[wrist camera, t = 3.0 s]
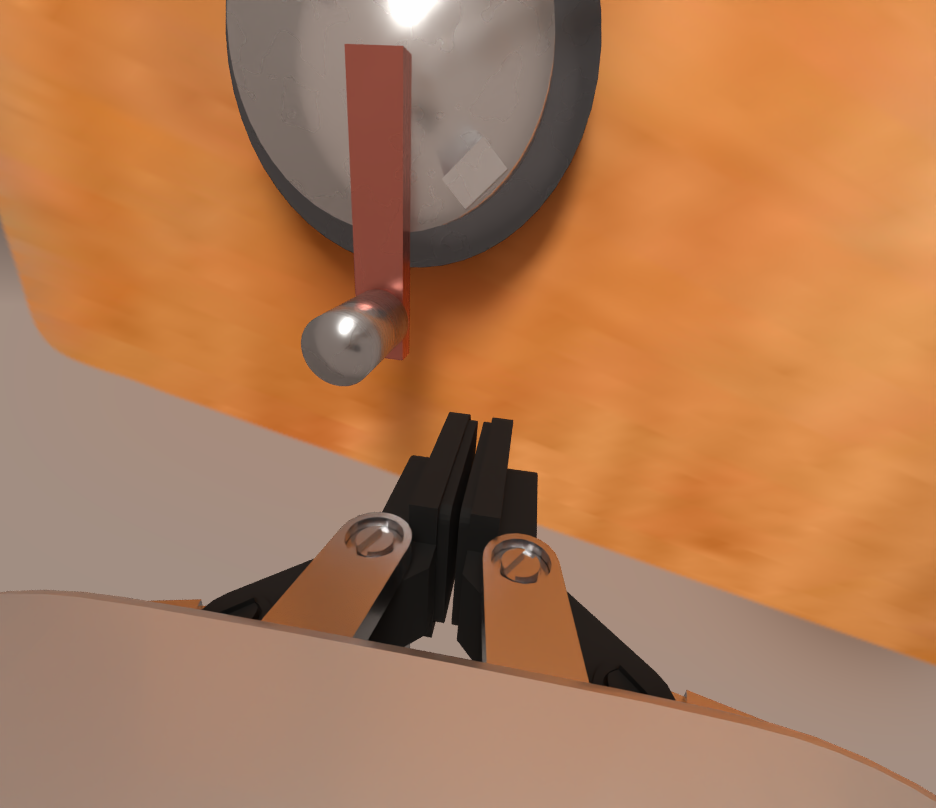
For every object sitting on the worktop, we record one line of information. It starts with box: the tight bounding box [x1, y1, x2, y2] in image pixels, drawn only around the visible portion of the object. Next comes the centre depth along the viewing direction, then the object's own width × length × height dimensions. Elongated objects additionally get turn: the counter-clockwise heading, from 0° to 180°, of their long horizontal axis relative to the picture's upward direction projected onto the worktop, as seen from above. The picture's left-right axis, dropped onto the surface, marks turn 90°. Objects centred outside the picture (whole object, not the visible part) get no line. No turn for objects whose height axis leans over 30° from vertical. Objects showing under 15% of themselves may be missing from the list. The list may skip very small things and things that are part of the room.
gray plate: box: [226, 0, 601, 267], centre depth 22 cm, size 18×18×3 cm
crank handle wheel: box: [227, 0, 555, 386], centre depth 18 cm, size 14×20×9 cm
